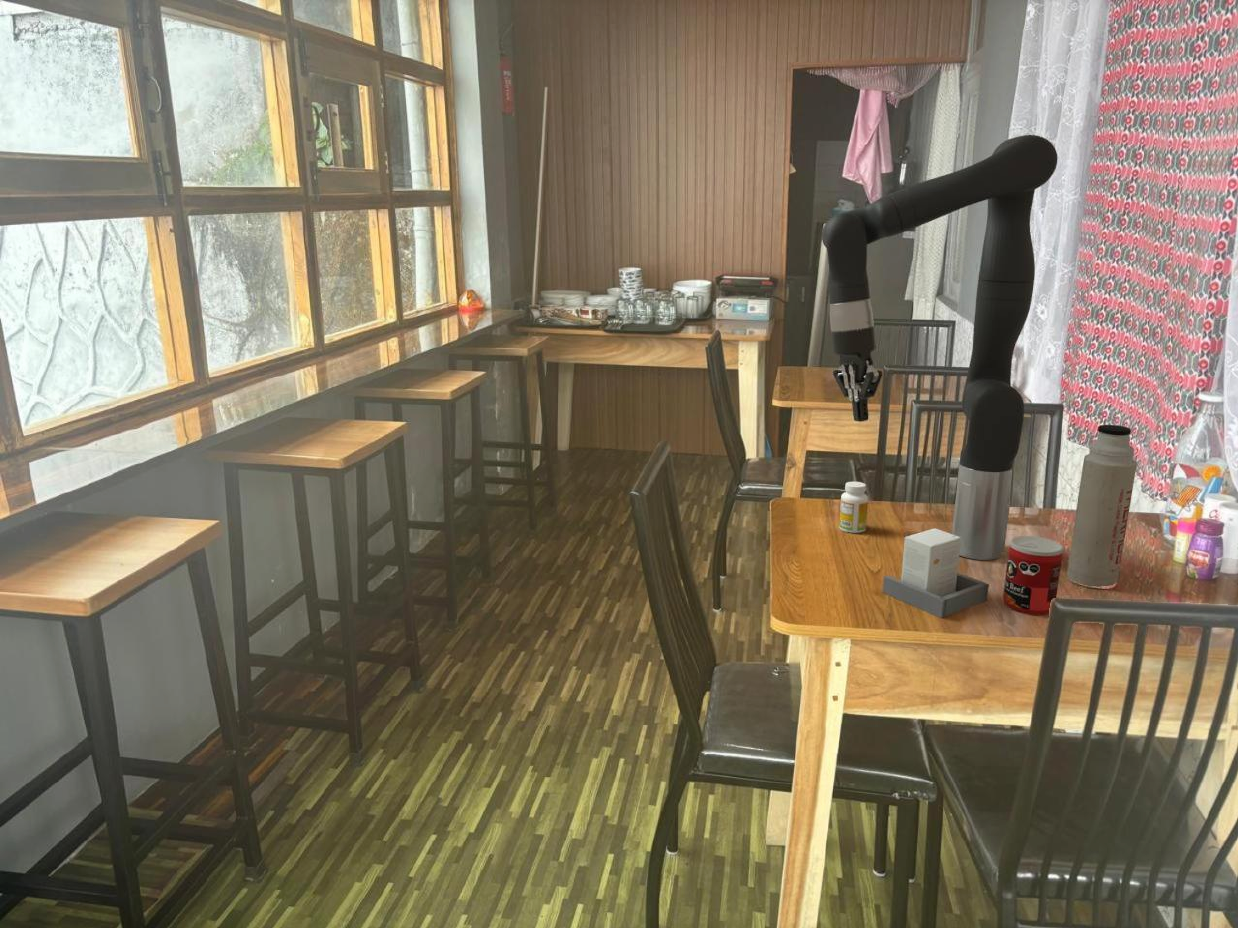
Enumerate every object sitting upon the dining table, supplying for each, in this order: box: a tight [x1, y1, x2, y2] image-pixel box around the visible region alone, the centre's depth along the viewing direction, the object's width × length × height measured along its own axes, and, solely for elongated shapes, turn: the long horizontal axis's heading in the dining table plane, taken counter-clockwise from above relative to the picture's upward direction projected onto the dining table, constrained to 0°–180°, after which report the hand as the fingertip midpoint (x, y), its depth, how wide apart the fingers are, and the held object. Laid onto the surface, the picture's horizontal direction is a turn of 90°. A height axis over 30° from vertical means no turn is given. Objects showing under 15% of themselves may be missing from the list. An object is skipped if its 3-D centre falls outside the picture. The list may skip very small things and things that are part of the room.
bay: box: [881, 572, 990, 619], centre depth 153 cm, size 12×12×3 cm
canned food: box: [1002, 535, 1064, 616], centre depth 148 cm, size 8×8×11 cm
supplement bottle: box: [838, 481, 869, 534], centre depth 184 cm, size 5×5×10 cm
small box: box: [900, 527, 961, 597], centre depth 153 cm, size 8×6×10 cm
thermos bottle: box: [1066, 424, 1138, 587], centre depth 156 cm, size 8×8×28 cm
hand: (861, 420), depth 166 cm, fingers closed
